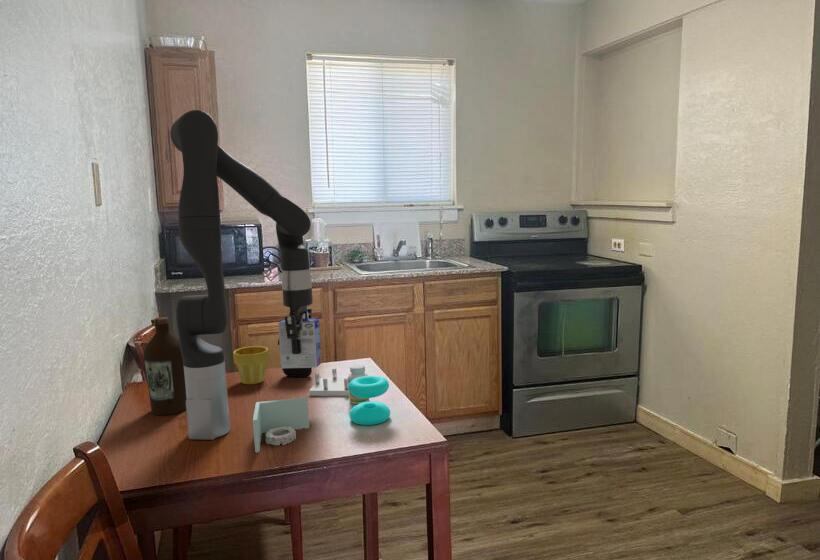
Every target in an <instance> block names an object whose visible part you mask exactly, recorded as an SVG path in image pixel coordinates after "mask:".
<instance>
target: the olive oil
mask: <svg viewBox="0 0 820 560" xmlns="http://www.w3.org/2000/svg"><path fill="white" fill-rule="evenodd" d="M154 322H155V324H154V327H155V334H154V335H153V336H152V338H150V339H149V341H148V342H147V344H146V345H145V346H144V350H143V354H142V356H143V357H142V358H143V364H144V370H145V371H144V372H145V376H146V382H147V389H148V396H149V402H150V403H149V404H150V410H151V413H152V414H153V415H156V416H170V415H169V414H171V415H174V414H175V415H176V414H179V413H182V412H184V411H186V400H187V397H186V387H185V375H184V365H183V358H182V354H181V349H180V341H179V337H177V336H176V335H174V334H173V333H172V332H171V331H170V323H169V317H166V316H163V317H161V316H160V317H156V318H155V319H154Z"/></svg>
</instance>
